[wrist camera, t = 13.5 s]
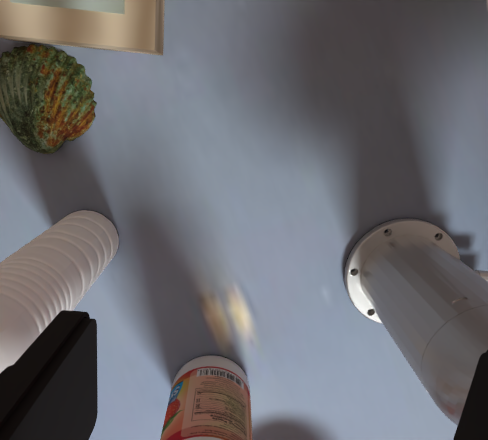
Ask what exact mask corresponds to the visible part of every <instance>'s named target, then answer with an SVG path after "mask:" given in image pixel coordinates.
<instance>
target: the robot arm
mask: <svg viewBox="0 0 488 440" xmlns="http://www.w3.org/2000/svg"><path fill="white" fill-rule="evenodd" d="M386 229H387V231H386V232H384V231H385V230H386ZM352 269H354V270H352ZM344 281H345V287H346V291H347V293H348V295H349V298H350V299H351V301H352V303H353V304H354V306H355V307H356V308H357V309H358V310H359V312H360V313H362V314H363V315H364V316H365V317H367V318H369V319H371V320H373V321H375V322H377V323H381V324H383V325H384V326H385V328H386V329H387V331H388V332H389V334H390V335H391V337H392V339H393V340H394V342H395V343H396V345H397V346H398V348H399V349H400V351H401V352H402V354H403V355H404V357H405V358H406V360H407V361H408V363H409V364H410V366H411V368H412V369H413V371H414V372H415V374H416V375H417V377H418V378H419V380H420V381H421V383H422V384H423V386H424V387H425V389H426V390H427V392H428V393H429V395H430V396H431V398H432V399H433V401H434V402H435V404H436V405H437V406H438V408H439V409H440V410H441V411H442V412H443V413H444V414H445V415H446V416H447V417H448V418H449V419H450V420H451V421H452V422H453V423H455V424H456V425H458V427H457V430H456V433H455V436H454V440H488V271H480V270H475V271H473V269H471V268H470V267H468V266H467V265H466V264H464V263H463V262H461V261H460V255H459V252H458V249H457V247H456V245H455V243H454V242H453V240H452V239H451V238H450V237H449V236H448V234H447V233H446V232H444V231H443V230H441V229H440V228H439V227H437V226H435V225H433V224H431V223H429V222H426V221H423V220H419V219H410V218H405V219H396V220H392V221H389V222H385V223H383V224H381V225H379V226H377V227H375V228H373V229H372V230H371V231H369V232H368V233H366V234H365V235H364V236H363V237H362V238H361V239H360V240H359V241H358V242H357V244H356V245H355V246H354V248H353V249H352V251H351V253H350V255H349V257H348V259H347V262H346V267H345V274H344ZM96 418H97V324H96V320H95V319H90V317H89V314H88V313H87V312H80V311H68V310H62V311H61V312H59V314H58V315H57V316H56V317H55V318H54V319H53V320H52V321H51V323H50V324H49V325H48V326H47V327H46V328H45V329H44V331H43V332H42V333H41V334H40V335H39V336H38V337H37V339H36V340H35V341H34V342H33V343H32V344H31V345H30V346H29V348H28V349H27V350H26V351H25V352H24V353H23V354H22V356H21V357H20V358H19V359H18V360H17V361H16V362H15V364H14V365H11V366H8V367H7V368H5V369H4V370H3V371H2V372H1V373H0V440H89V437H90V435H91V433H92V431H93V429H94V426H95V423H96Z"/></svg>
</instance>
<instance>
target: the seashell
mask: <svg viewBox="0 0 488 440" xmlns="http://www.w3.org/2000/svg"><path fill="white" fill-rule="evenodd" d="M91 85H92V81H91V79H90V78H89V77H87V76H86V75H85V68H84V66H83V65H81V64H77V61H76V59H75V58H74V57H69V56H68V55H67V54H66V53H65V52H64V51H60V52H58V51H57V50H56V49H55V48H54V47H51V48H49V49H48V48H46V47H45V46H44V45H40V46H37V45H35V44H30V45H29V46H28V47H26V46H21V47H14V49H13V50H12V52H11V53H10V52H3V53H2V56H1V58H0V118H1V119H2V120H3V121H4V122H5V123H6V124H7V125H8V127H9V128H10V130H11V131H12V133H13V134H14V135H15V136H16V137H17V138H18V139H19V140H20V141H21V142H22V143H23V144H24V145H25V146H26V147H28V148H29V149H31V150H33V151H36V152H39V153H43V154H50V153H54V152H55V151H57V150H58V149H59V148H60V147H61V145H62V144H63V143H64V141H65V140H69V141H73V140H74V139H76V138H78V137H80V136H81V135H83V134H84V133H85V132H86V131H87V130H88V129H89V128H90V126H91V125H92V123H93V121H94V118H95V113H94V108H95V106H96V102H95V101H94V100H93V98H94V93H93V92H92V91H91V90H90V88H91Z"/></svg>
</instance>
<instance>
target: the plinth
mask: <svg viewBox="0 0 488 440" xmlns="http://www.w3.org/2000/svg"><path fill="white" fill-rule="evenodd" d="M164 1H165V0H0V38H4V39H8V40H14V41H24V42H34V43H44V44H54V45H64V46H74V47H84V48H94V49H104V50H114V51H124V52H134V53H144V54H154V55H163V37H164Z"/></svg>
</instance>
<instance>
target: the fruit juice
mask: <svg viewBox="0 0 488 440" xmlns="http://www.w3.org/2000/svg"><path fill="white" fill-rule="evenodd" d="M160 440H252V421H251V402H250V387H249V383H248V379H247V377H246V375H245V373H244V371H243V370H242V369H241V368H240V367H239V366H238V365H237V364H236V363H235V362H233V361H231V360H229V359H227V358H224V357H221V356H214V355H208V356H201V357H198V358H195V359H193V360H191V361H189V362H188V363H186V364H185V365H184V366H183V367H182V368H181V369H180V370H179V372H178V373H177V375H176V377H175V379H174V381H173V384H172V389H171V393H170V398H169V402H168V407H167V412H166V416H165V421H164V425H163V430H162V435H161V439H160Z"/></svg>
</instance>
